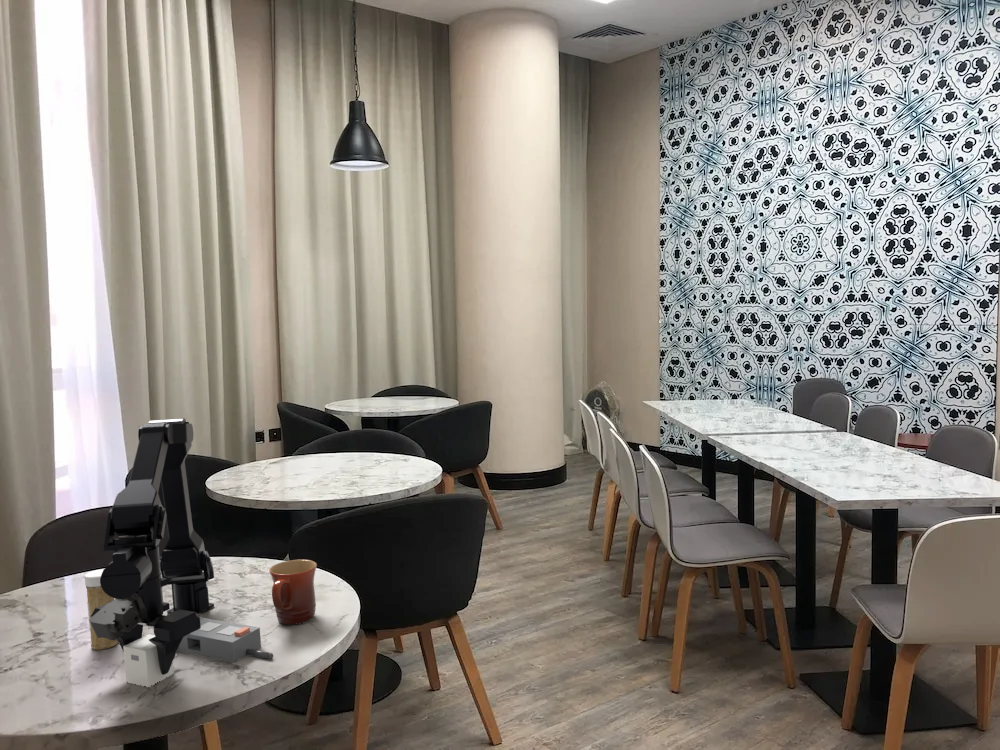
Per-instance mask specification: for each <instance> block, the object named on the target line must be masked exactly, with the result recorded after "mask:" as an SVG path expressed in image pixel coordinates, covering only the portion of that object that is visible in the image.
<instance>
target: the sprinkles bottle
mask: <svg viewBox="0 0 1000 750" xmlns="http://www.w3.org/2000/svg"><path fill="white" fill-rule="evenodd" d="M104 569H105V568H104ZM104 569H97V570H93V571H90V572H88V573H86V574H85V575H84V585H85V588H86V593H87V595H86V596H87V602H86V603H87V604H86V605H87V615H88V624H89V632H90V640H91V641H90V643H91V644H90V647H91V649H93V650H97V651H98V650H99V651H100V650H106V649H109V648H112V647H114V646H117V645H118V644H119V642H118V641H117V639H116V640H109V639H107V638H102V637H101V638H98V637H97V636H96V634H95V632H94V630H93V628H92V626H91V623H90V621H89V620H90V618H91V615H92V613H93V611H94V610H95V608H97V607H100V606H102V605H105V604H107V603H109V602H112V601H113V600H115V598H113V597H110V596H109V595H107V594H106V593H105V592H104V591H103V589H102V587H101V584H100V578H101V574H102V572H103V570H104Z"/></svg>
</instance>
